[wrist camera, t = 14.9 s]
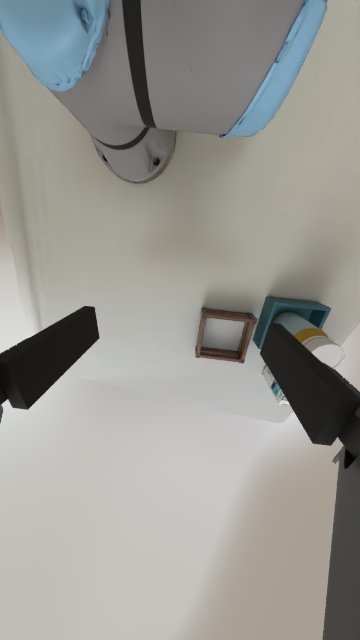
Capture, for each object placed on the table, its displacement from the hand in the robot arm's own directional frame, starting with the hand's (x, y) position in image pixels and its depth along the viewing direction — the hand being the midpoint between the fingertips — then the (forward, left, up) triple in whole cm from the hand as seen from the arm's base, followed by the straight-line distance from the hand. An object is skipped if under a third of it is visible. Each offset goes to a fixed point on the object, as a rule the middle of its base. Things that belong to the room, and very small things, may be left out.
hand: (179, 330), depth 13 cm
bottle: (+10, +26, -30) cm, 41 cm away
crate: (+15, +11, -30) cm, 36 cm away
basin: (+10, +26, -30) cm, 41 cm away
